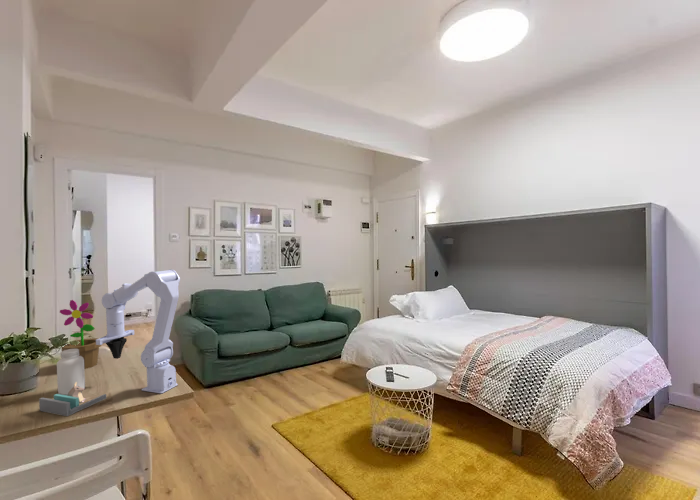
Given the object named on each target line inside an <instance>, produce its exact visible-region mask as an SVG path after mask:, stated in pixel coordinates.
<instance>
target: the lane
mask: <svg viewBox="0 0 700 500" xmlns="http://www.w3.org/2000/svg"><path fill="white" fill-rule="evenodd" d="M81 393H82V394H83V391H82V392H81ZM106 399H107V394H106V393H103V394H102V395H99V396H97V397H95V398H92V399H90V400H89V401H86V402H82V403H81V404H79V406H77V407H74V408H72V409H70V402H65V401H59V400H54V398H49V397H48V398H47V397H40V398H38V403H39V404H38V405H39V411H40V412H45V413H49V414H54V415H59V416H64V417H69V416H71V415H73V414H75V413H77V412H80V411H82V410H83V409H86V408H88V407H91V406H93V405H94V404H97V403H99V402H101V401H104V400H106Z"/></svg>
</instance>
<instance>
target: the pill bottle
mask: <svg viewBox="0 0 700 500" xmlns="http://www.w3.org/2000/svg"><path fill="white" fill-rule="evenodd" d="M59 354H60V359H59V360H58V361H57V362H56V376H57V379H56V380H57V392H58V393H57V394H60V395H66V396H67V395H68V392H69V391H70V390H71V389H72V388H73V387H74V384H75V383H76V382H77V385H76V386H79V387H81V388H84V389H86V375H85V372H86V371H85V370H86V369H84V358H83V357H82V356H78V355H79V349H68V350H64V351H62V350H61V351H60V353H59Z"/></svg>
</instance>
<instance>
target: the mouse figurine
mask: <svg viewBox="0 0 700 500" xmlns="http://www.w3.org/2000/svg"><path fill="white" fill-rule="evenodd" d="M76 385H77V382H76V383H75V384H74V387H73V388H72V389H71V390H70V391H69V392H68V395H66V396H72V397H78V398H79V404H80V403H81V404H82V403H85V401H86V398H85V397H84V396H83V391H84V390H85V388H81V387H79V386H76ZM81 392H82V393H81Z"/></svg>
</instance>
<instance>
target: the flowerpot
mask: <svg viewBox="0 0 700 500" xmlns="http://www.w3.org/2000/svg"><path fill="white" fill-rule="evenodd" d="M89 305H90V304H89V302H85V303H82V304H81V305H80V306H79V307H78V304H77V302H76V301H75V300H74V299H71V300H69V307H70V309H65V308H63V309H59V313H60V314H61V315H62V316H69V317H67V318H66V319H65V321H64V323H63V325H64V326H68V325H71V324H72V323H73V322H74V321H75V323H76V324H75V325H76V326H77V327H78V328H80V332H74V333H72V334H70V335H69V336H70V338H71V337H72V338H80V339H77V341H79V342H80V343H79V344H78V345H76V346H75V345H71V344H67V345H65V346H64V347H62V346H61V352H62V351H64V350H68V349H79V355H78V356H82V357H83V358H84V370H86V369H90V368H93V367H95V366H97V365H98V362H99V360H98V359H99V352H100V348H101V347H102V345H96V339H99V338H98V337H97V338H93V337H91V338H90V337H89V338H84V332H92V331H94V330H95V327H94V326H93V325H91V324H87V323H86V324H84V321H83V319H87V320H90V319H93V317H94V315H93V314H91V313H90V312H84V311H86V310H87V309H88V307H89Z"/></svg>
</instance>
